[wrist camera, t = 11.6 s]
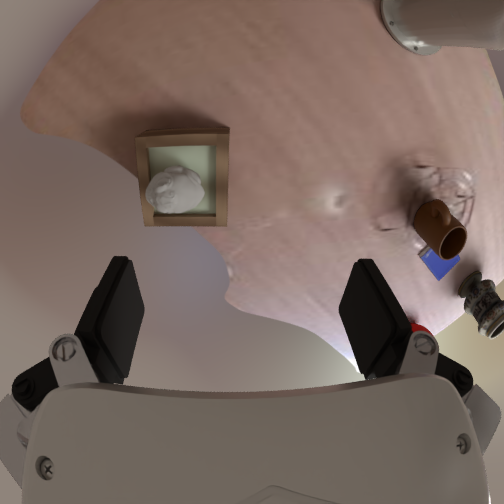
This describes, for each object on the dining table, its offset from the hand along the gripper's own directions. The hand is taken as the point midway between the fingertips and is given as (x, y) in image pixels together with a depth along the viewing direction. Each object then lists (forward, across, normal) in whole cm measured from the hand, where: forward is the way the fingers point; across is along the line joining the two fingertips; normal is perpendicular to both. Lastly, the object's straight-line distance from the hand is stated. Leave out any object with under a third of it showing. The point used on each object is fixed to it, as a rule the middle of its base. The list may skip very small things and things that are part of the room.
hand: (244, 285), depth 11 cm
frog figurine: (+26, +7, +5) cm, 28 cm away
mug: (+31, -36, +9) cm, 48 cm away
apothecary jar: (+31, -67, +30) cm, 79 cm away
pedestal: (+30, +7, +5) cm, 31 cm away
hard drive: (+31, -47, +20) cm, 60 cm away
